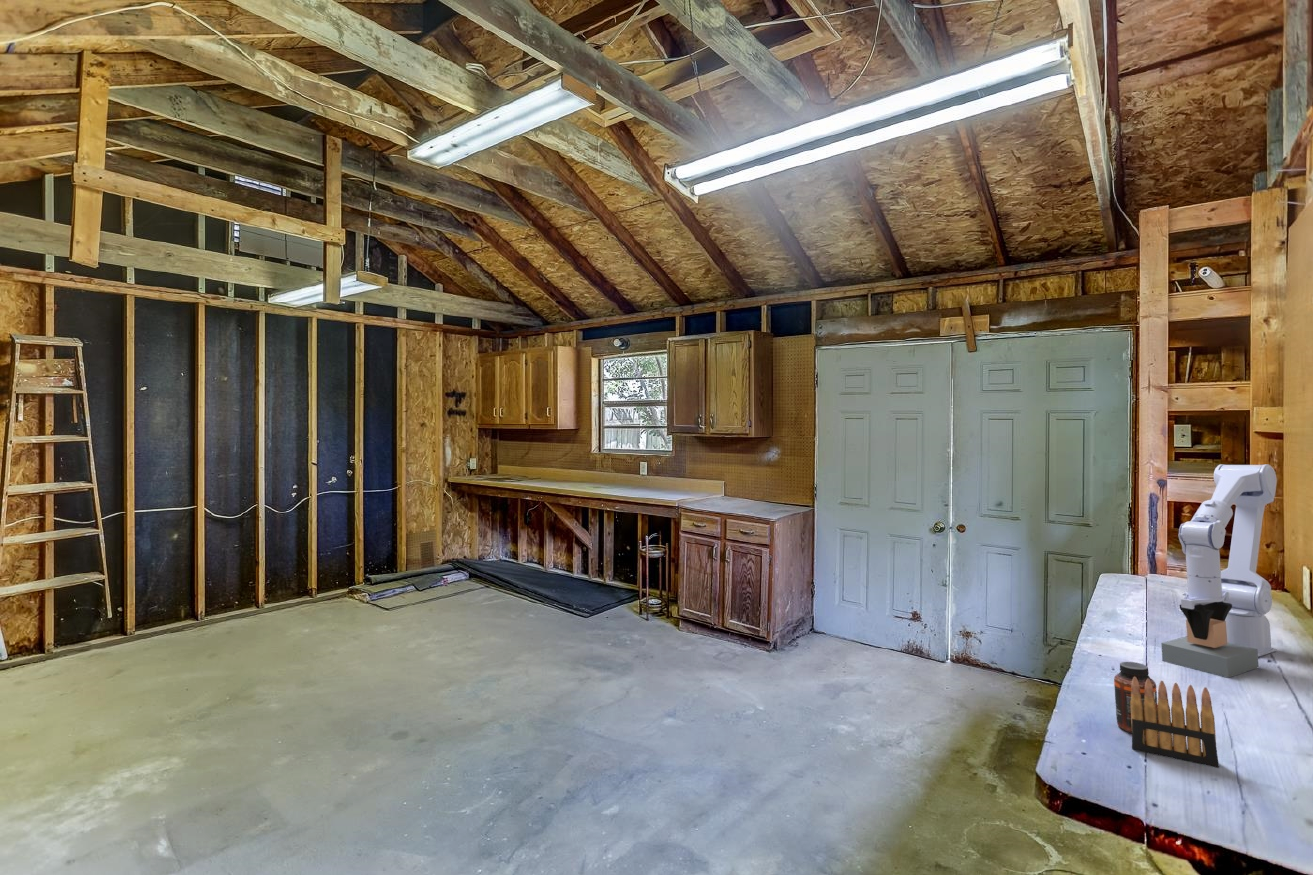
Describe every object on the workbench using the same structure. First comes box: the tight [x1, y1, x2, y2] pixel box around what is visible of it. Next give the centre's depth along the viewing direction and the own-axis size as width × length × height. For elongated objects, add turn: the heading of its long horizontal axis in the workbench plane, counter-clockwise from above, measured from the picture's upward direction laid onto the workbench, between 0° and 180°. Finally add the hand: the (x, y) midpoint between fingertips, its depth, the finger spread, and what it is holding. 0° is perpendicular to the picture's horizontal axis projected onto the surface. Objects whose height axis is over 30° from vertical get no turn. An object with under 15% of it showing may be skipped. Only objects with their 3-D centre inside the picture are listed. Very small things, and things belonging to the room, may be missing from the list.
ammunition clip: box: [1130, 676, 1220, 769], centre depth 99 cm, size 11×2×12 cm, turn 52°
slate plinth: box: [1161, 635, 1260, 678], centre depth 136 cm, size 12×12×4 cm
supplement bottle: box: [1113, 661, 1159, 734], centre depth 108 cm, size 6×6×11 cm
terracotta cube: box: [1185, 619, 1227, 648], centre depth 137 cm, size 5×5×5 cm
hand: (1207, 636), depth 137 cm, fingers closed on terracotta cube, 5 cm apart
